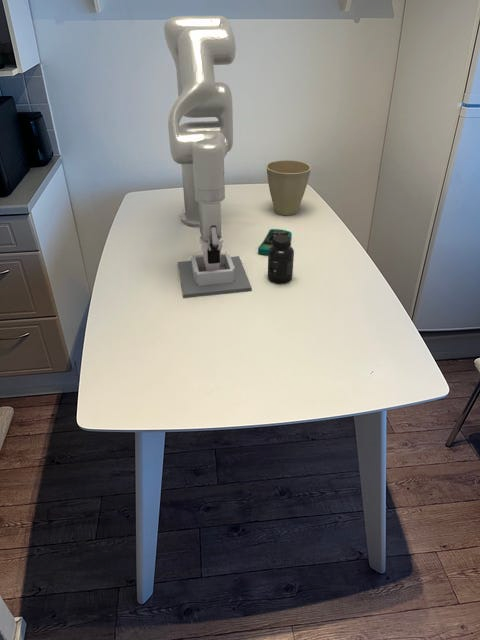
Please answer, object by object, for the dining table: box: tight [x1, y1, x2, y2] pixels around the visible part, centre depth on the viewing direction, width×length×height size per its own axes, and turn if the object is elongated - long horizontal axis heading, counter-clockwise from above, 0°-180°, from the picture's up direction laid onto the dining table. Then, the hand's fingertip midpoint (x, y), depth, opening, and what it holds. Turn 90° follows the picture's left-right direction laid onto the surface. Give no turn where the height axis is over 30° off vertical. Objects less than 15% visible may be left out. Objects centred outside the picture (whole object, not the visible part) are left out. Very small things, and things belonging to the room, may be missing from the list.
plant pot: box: [266, 159, 312, 216], centre depth 168 cm, size 15×15×16 cm
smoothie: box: [199, 234, 224, 271], centre depth 130 cm, size 6×6×14 cm
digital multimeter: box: [257, 228, 293, 257], centre depth 151 cm, size 7×15×3 cm, turn 162°
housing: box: [177, 252, 253, 299], centre depth 134 cm, size 18×18×4 cm
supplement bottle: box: [267, 235, 295, 285], centre depth 131 cm, size 7×7×12 cm
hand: (212, 256), depth 132 cm, fingers open, 6 cm apart
